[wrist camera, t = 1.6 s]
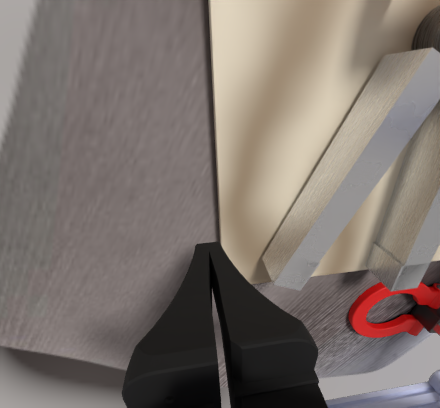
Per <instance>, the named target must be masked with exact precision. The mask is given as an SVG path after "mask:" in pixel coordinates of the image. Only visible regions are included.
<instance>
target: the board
mask: <svg viewBox="0 0 440 408" xmlns="http://www.w3.org/2000/svg"><path fill="white" fill-rule="evenodd" d="M208 5H209V26H210V46H211V66H212V87H213V107H214V127H215V148H216V168H217V188H218V209H219V229H220V244H221V246H222V248H223V250H224V251H225V253H226V254H227V256H228V257H229V259H230V260H231V262H232V263H233V264H234V266H235V267H236V268H237V269H238V271H239V272H240V273H241V274H242V275H243V276H244V278H245V279H246V280H247V281H248V282H249V283H250V284H257V283H265V282H272V280H271V278H270V276H269V273H268V271H267V269H266V266H265V264H264V262H263V259H262V257H263V255H264V254H265V252H266V250H267V249H268V247H269V245H270V244H271V242H272V241H273V239H274V237H275V236H276V234H277V232H278V231H279V229H280V227H281V226H282V224H283V222H284V221H285V219H286V217H287V216H288V214H289V212H290V211H291V209H292V207H293V206H294V204H295V202H296V201H297V199H298V198H299V196H300V194H301V193H302V191H303V189H304V188H305V186H306V184H307V183H308V181H309V179H310V178H311V176H312V174H313V173H314V171H315V169H316V168H317V166H318V164H319V163H320V161H321V160H322V158H323V156H324V155H325V153H326V151H327V150H328V148H329V146H330V145H331V143H332V141H333V140H334V138H335V136H336V135H337V133H338V131H339V130H340V128H341V126H342V125H343V123H344V121H345V120H346V118H347V117H348V115H349V113H350V112H351V110H352V108H353V107H354V105H355V103H356V102H357V100H358V98H359V97H360V95H361V93H362V92H363V90H364V88H365V87H366V85H367V83H368V82H369V80H370V79H371V77H372V75H373V74H374V72H375V70H376V69H377V67H378V65H379V64H380V62H381V60H382V59H383V57H384V55H389V54H395V53H401V52H407V51H411V48H412V41H413V37H414V34H415V32H416V29H417V28H418V26H419V24H420V23H421V21H422V20H423V18H424V17H425V16H426V15H427V14H428V13H429V12H430V11H431V10H433V9H434V8H436V7H437V6H439V5H440V0H208ZM409 142H410V140H409ZM409 142H408V143H407V144H406V146H405V147H404V148H403V150H402V151H401V152H400V154H399V155H398V157H397V158H396V159H395V161H394V162H393V163H392V165H391V166H390V167H389V169H388V170H387V171H386V173H385V174H384V175H383V177H382V178H381V179H380V181H379V182H378V183H377V185H376V186H375V188H374V189H373V190H372V192H371V193H370V194H369V196H368V197H367V198H366V200H365V201H364V202H363V204H362V205H361V206H360V208H359V209H358V210H357V212H356V213H355V215H354V216H353V217H352V219H351V220H350V221H349V223H348V224H347V225H346V227H345V228H344V229H343V231H342V232H341V233H340V235H339V236H338V237H337V239H336V240H335V242H334V243H333V244H332V246H331V247H330V248H329V250H328V251H327V252H326V254H325V255H324V256H323V258H322V259H321V260H320V265H319V266H318V267H317V269H316V270H315V271H314V273H313V274H312V276H320V275H328V274H336V273H344V272H352V271H359V270H367V269H368V268H367V267H366V266H365V264H366V261H367V258H368V255H369V252H370V249H371V246H372V243H373V242H375V241H376V238H377V235H378V232H379V229H380V226H381V224H382V221H383V218H384V215H385V212H386V209H387V206H388V203H389V200H390V197H391V195H392V192H393V189H394V186H395V183H396V180H397V177H398V174H399V171H400V168H401V166H402V163H403V160H404V157H405V154H406V151H407V148H408V145H409ZM439 260H440V245H439V247H438V249H437V251H436V253H435V254H434V256H433V258H432V260H431V261H439ZM312 276H311V277H312Z"/></svg>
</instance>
